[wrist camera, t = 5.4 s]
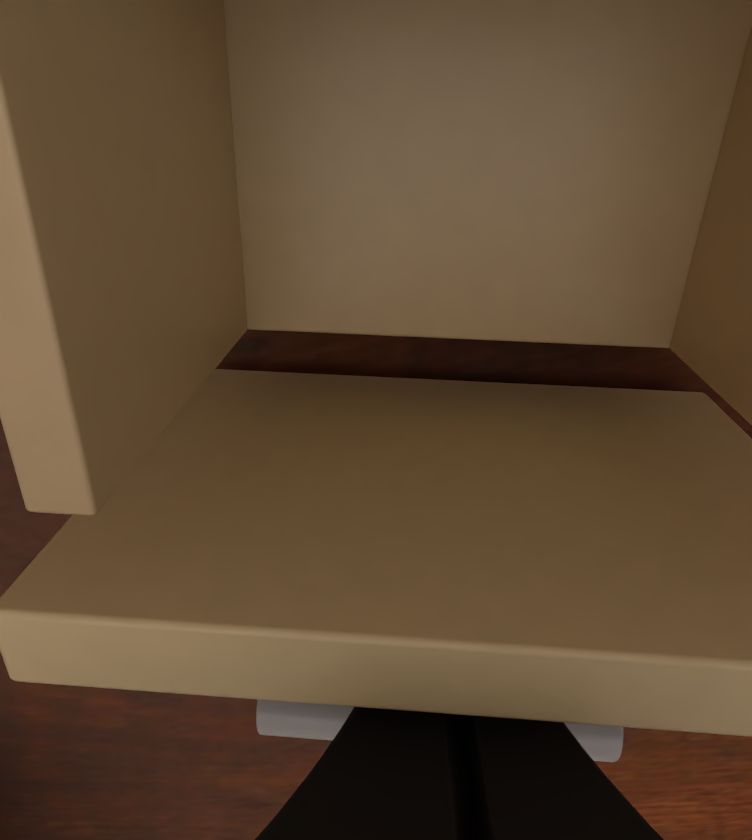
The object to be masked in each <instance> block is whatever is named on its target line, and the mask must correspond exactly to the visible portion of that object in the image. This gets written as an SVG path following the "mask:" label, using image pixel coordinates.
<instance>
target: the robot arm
mask: <svg viewBox="0 0 752 840" xmlns="http://www.w3.org/2000/svg"><path fill="white" fill-rule="evenodd" d="M255 840H664V839H663V838H662V837H661V836H660V835H659V834H658V833H657V832H656V831H655V830H654V829H653V828H652V827H651V826H650V825H649V824H648V823H647V822H646V820H645V819H644V818H643V817H642V816H641V815H640V814H639V813H638V811H637V810H636V809H635V808H634V807H633V806H632V805H631V804H630V803H629V801H628V800H627V799H626V798H625V797H624V796H623V795H622V794H621V793H620V791H619V790H618V789H617V788H616V787H615V786H614V785H613V784H612V783H611V781H610V780H609V779H608V778H607V777H606V776H605V774H604V773H603V772H602V771H601V770H600V768H599V767H598V766H597V765H596V763H595V762H594V761H593V760H592V758H591V757H590V756H589V755H588V753H587V752H586V751H585V750H584V748H583V747H582V746H581V745H580V743H579V742H578V741H577V739H576V738H575V737H574V735H573V734H572V733H571V731H570V730H569V729H568V727H567V726H566V725H565V723H564V722H551V721H538V720H525V719H511V718H498V717H485V716H471V715H458V714H445V713H431V712H418V711H405V710H391V709H378V708H365V707H354V708H353V710H352V711H351V713H350V715H349V716H348V718H347V719H346V721H345V723H344V724H343V726H342V727H341V729H340V731H339V732H338V733H337V735H336V736H335V738H334V739H333V741H332V742H331V744H330V745H329V747H328V748H327V750H326V751H325V753H324V754H323V756H322V757H321V758H320V760H319V761H318V763H317V764H316V765H315V767H314V768H313V769H312V771H311V772H310V774H309V775H308V776H307V777H306V779H305V780H304V781H303V782H302V784H301V785H300V786H299V787H298V789H297V790H296V791H295V792H294V794H293V795H292V796H291V797H290V799H289V800H288V801H287V803H286V804H285V805H284V806H283V808H282V809H281V810H280V811H279V813H278V814H277V815H276V816H275V817H274V819H273V820H272V821H271V822H270V823H269V824H268V826H267V827H266V828H265V829H264V830H263V831H262V832H261V833H260V834H259V836H258V837H257V838H256V839H255Z"/></svg>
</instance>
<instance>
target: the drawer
mask: <svg viewBox="0 0 752 840" xmlns="http://www.w3.org/2000/svg"><path fill="white" fill-rule="evenodd" d="M247 329H250V330H272V331H295V332H317V333H339V334H361V335H384V336H406V337H428V338H451V339H473V340H495V341H518V342H540V343H562V344H585V345H607V346H629V347H651V348H670V350H671V351H672V352H674V353H675V354H676V355H677V356H678V357H679V358H680V359H681V360H682V361H683V362H684V363H685V364H686V365H687V366H689V367H690V368H691V369H692V370H693V371H694V372H695V373H696V374H697V375H698V376H699V377H700V378H701V379H702V380H703V381H705V382H706V383H707V384H708V385H709V386H710V387H711V388H712V389H713V390H714V391H715V392H716V393H717V394H718V395H719V396H721V397H722V398H723V399H724V400H725V401H726V402H727V403H728V404H729V405H730V406H731V407H732V408H733V409H734V410H735V411H737V412H738V413H739V414H740V415H741V416H742V417H743V418H744V419H745V420H746V421H747V422H748V423H749V424H750V425H752V0H0V418H1V422H2V425H3V429H4V432H5V436H6V439H7V443H8V446H9V450H10V454H11V457H12V461H13V464H14V468H15V471H16V475H17V478H18V482H19V485H20V489H21V493H22V496H23V500H24V503H25V507H26V509H27V510H28V511H30V512H41V513H57V514H73V515H72V516H71V517H70V519H69V520H68V521H67V522H66V523H65V524H64V525H63V527H62V528H61V529H60V530H59V531H58V532H57V533H56V534H55V536H54V537H53V538H52V539H51V540H50V541H49V542H48V544H47V545H46V546H45V547H44V548H43V549H42V550H41V552H40V553H39V554H38V555H37V556H36V557H35V558H34V560H33V561H32V562H31V563H30V564H29V565H28V566H27V568H26V569H25V570H24V571H23V572H22V573H21V574H20V576H19V577H18V578H17V579H16V580H15V581H14V582H13V584H12V585H11V586H10V587H9V588H8V589H7V590H6V592H5V593H4V594H3V595H2V596H1V597H0V651H1V654H2V656H3V659H4V662H5V665H6V668H7V671H8V674H9V676H10V678H11V679H12V680H14V681H18V682H31V683H45V684H58V685H71V686H85V687H98V688H111V689H125V690H138V691H151V692H165V693H178V694H191V695H205V696H218V697H231V698H245V699H257V709H256V725H257V731H258V733H259V734H260V735H270V736H282V737H295V738H308V739H321V740H333V739H334V738H335V736H336V735H337V733H338V732H339V731H340V729H341V727H342V726H343V724H344V723H345V721H346V719H347V718H348V716H349V715H350V713H351V711H352V710H353V708H354V707H365V708H378V709H391V710H405V711H418V712H431V713H445V714H458V715H471V716H485V717H498V718H511V719H525V720H538V721H551V722H564V723H565V725H566V726H567V727H568V729H569V730H570V731H571V733H572V734H573V735H574V737H575V738H576V739H577V741H578V742H579V743H580V745H581V746H582V747H583V748H584V750H585V751H586V752H587V753H588V755H589V756H590V757H591V758H592V760H593V761H603V762H615V761H617V760H618V759H619V758H620V755H621V752H622V746H623V727H631V728H645V729H658V730H671V731H685V732H698V733H711V734H725V735H738V736H751V737H752V439H751V438H750V437H749V436H748V435H747V434H746V433H745V432H744V431H743V430H742V429H741V428H740V427H739V426H738V425H737V424H736V423H735V422H734V421H733V420H732V419H731V418H730V417H729V416H728V415H727V414H726V413H725V412H724V411H723V410H722V409H721V408H720V407H719V406H718V405H717V404H716V403H715V402H714V401H712V400H711V399H710V398H709V397H708V396H707V395H706V394H705V393H703V392H684V391H663V390H642V389H621V388H601V387H580V386H559V385H538V384H518V383H497V382H476V381H455V380H435V379H414V378H393V377H372V376H352V375H331V374H310V373H289V372H269V371H248V370H227V369H215V368H216V367H217V366H218V365H219V364H220V362H221V361H222V360H223V359H224V357H225V356H226V355H227V354H228V353H229V351H230V350H231V349H232V348H233V346H234V345H235V344H236V343H237V342H238V340H239V339H240V338H241V337H242V335H243V334H244V333H245V332H246V331H247Z"/></svg>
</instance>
